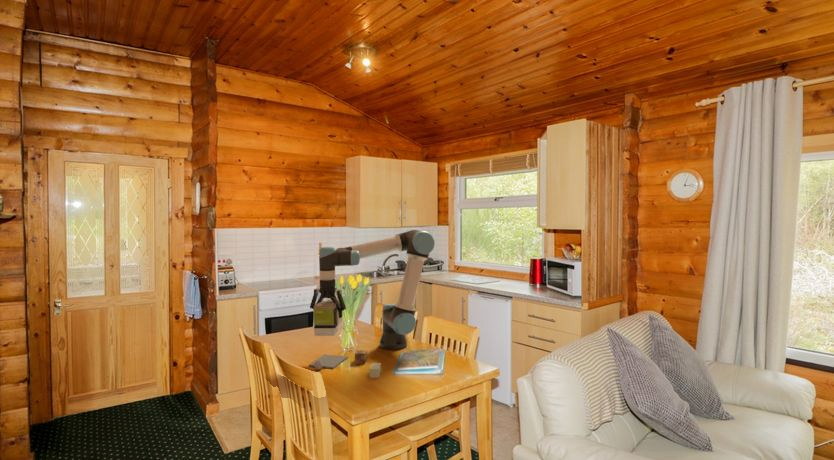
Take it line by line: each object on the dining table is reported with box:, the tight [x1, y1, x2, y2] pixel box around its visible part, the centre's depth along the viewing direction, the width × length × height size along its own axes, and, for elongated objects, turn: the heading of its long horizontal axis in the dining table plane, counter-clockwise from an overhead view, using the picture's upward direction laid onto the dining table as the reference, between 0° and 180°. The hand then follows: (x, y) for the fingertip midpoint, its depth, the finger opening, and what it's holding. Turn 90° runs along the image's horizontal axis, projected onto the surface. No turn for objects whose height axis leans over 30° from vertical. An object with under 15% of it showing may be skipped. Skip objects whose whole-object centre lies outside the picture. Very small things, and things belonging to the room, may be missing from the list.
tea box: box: [313, 298, 342, 337], centre depth 225 cm, size 15×10×15 cm
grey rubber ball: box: [313, 361, 323, 370], centre depth 216 cm, size 4×4×4 cm
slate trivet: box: [308, 354, 349, 370], centre depth 227 cm, size 13×16×1 cm
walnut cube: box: [354, 349, 368, 365], centre depth 227 cm, size 5×5×5 cm
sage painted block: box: [369, 362, 382, 379], centre depth 210 cm, size 4×8×4 cm, turn 178°
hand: (328, 323), depth 226 cm, fingers closed on tea box, 11 cm apart
